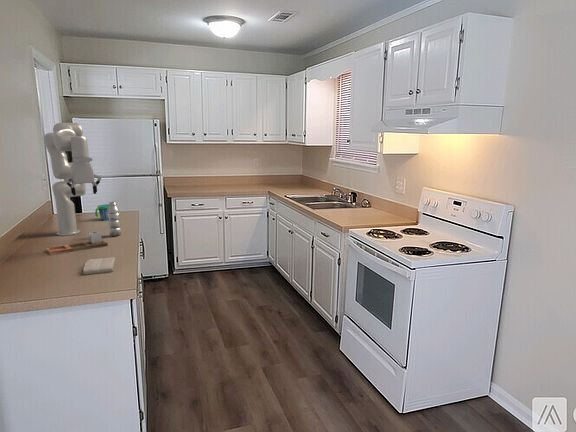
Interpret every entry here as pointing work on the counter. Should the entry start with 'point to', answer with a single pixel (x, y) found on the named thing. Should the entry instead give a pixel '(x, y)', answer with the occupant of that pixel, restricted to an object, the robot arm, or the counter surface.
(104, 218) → the snack cup
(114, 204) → the plastic bottle
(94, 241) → the steel plug
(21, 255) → the counter surface
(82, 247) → the rail
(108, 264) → the washcloth
